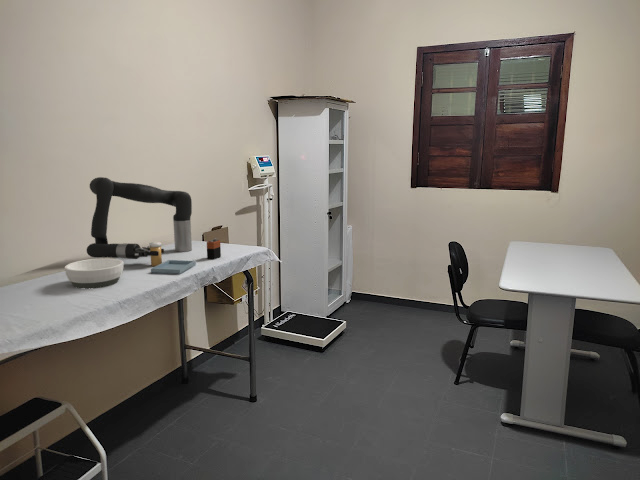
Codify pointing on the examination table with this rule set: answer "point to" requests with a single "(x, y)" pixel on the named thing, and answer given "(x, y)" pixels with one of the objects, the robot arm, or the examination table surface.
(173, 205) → the robot arm
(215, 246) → the battery
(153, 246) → the pill bottle
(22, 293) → the examination table surface
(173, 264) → the tray
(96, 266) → the bowl
